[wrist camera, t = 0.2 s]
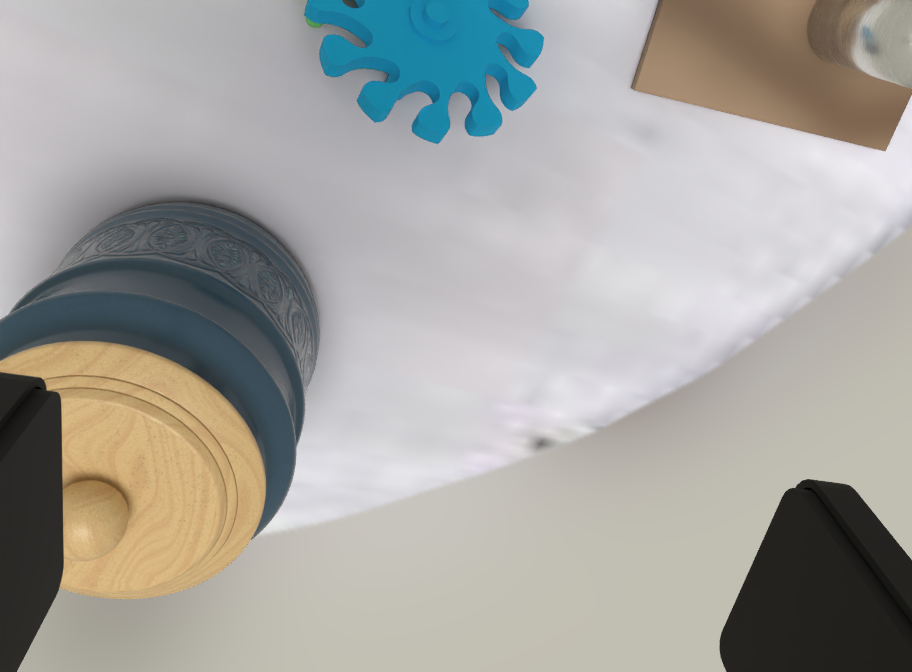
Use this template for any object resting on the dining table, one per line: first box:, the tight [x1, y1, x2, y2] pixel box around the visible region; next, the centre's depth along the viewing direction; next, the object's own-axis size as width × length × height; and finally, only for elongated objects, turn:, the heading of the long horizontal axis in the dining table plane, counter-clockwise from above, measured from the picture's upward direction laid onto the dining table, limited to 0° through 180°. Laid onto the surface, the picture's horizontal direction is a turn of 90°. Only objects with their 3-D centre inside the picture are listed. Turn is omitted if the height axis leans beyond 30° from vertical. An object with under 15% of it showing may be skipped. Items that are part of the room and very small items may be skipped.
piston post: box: [807, 0, 912, 89], centre depth 34 cm, size 4×4×7 cm
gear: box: [304, 0, 544, 144], centre depth 35 cm, size 11×6×10 cm
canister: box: [0, 202, 319, 599], centre depth 35 cm, size 13×13×18 cm
